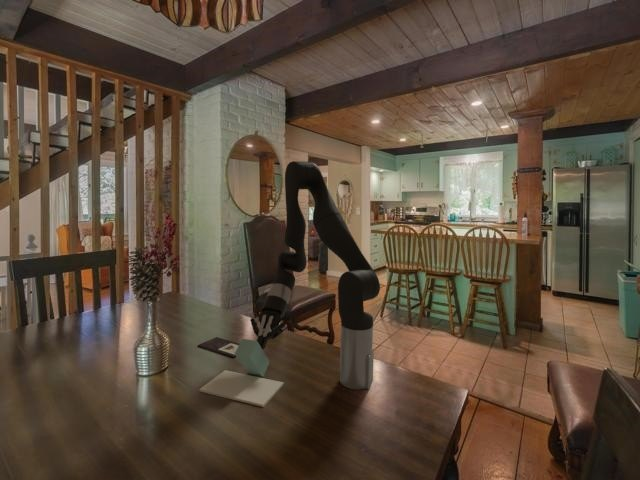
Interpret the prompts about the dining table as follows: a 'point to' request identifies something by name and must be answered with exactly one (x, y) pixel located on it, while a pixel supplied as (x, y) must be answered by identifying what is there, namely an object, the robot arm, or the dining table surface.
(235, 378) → the cream mat
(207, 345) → the chocolate bar
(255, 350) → the teal block
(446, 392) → the dining table surface
